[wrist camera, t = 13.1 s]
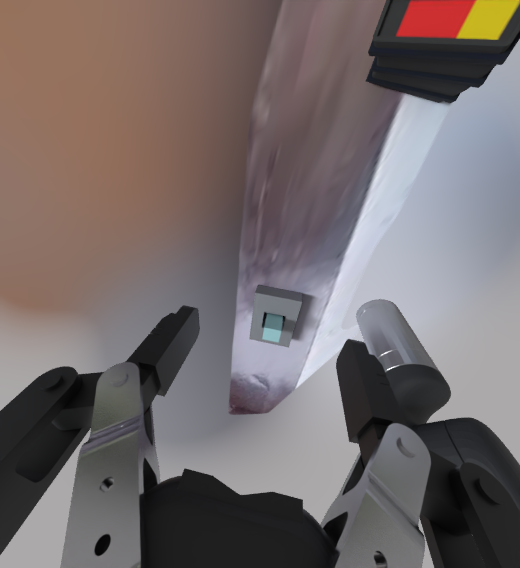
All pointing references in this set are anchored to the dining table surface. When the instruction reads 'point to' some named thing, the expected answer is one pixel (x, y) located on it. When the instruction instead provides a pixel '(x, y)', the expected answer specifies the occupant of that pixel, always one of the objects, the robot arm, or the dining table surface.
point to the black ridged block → (442, 45)
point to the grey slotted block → (275, 312)
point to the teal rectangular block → (272, 327)
